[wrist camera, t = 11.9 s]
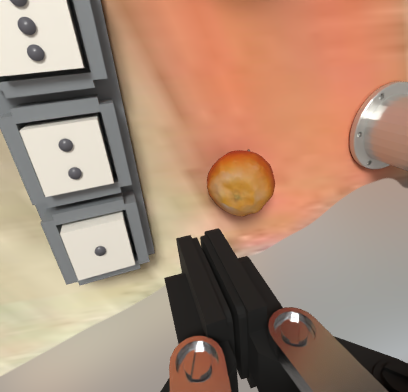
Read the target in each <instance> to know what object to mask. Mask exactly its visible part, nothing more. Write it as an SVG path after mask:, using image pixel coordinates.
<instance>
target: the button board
mask: <svg viewBox="0 0 408 392" xmlns="http://www.w3.org/2000/svg"><path fill="white" fill-rule="evenodd" d="M69 2H70V6H71V10H72V14H73V18H74V22H75V26H76V29H77V33H78V37H79V41H80V45H81V49H82V53H83V57H84V60H85V64H86V67H85V68H77V69H67V70H58V71H48V72H38V73H29V74H19V75H10V76H0V129H1V131H2V134H3V136H4V138H5V141H6V143H7V145H8V148H9V150H10V153H11V155H12V157H13V160H14V162H15V164H16V167H17V169H18V171H19V174H20V176H21V178H22V181H23V183H24V186H25V188H26V190H27V193H28V195H29V197H30V200H31V202H32V204H33V205H35V206H36V208H37V211H38V213H39V216H40V218H41V220H42V221H41V226H42V228H43V230H44V233H45V235H46V237H47V240H48V242H49V244H50V247H51V249H52V252H53V254H54V256H55V259H56V261H57V263H58V266H59V268H60V270H61V273H62V275H63V278H64V280H65V282H66V285H67V284H71V283H74V282H78V283H79V285H83V284H87V283H90V282H94V281H97V280H101V279H104V278H108V277H111V276H115V275H119V274H122V273H126V272H129V271H133V270H136V269H140V264H143V263H146V262H150V261H149V256H148V255H150V254H154V253H155V252H154V247H153V242H152V238H151V233H150V228H149V224H148V219H147V214H146V210H145V205H144V200H143V196H142V191H141V187H140V182H139V177H138V173H137V168H136V163H135V159H134V154H133V149H132V145H131V140H130V135H129V131H128V126H127V121H126V117H125V112H124V108H123V103H122V98H121V94H120V89H119V84H118V80H117V75H116V70H115V66H114V61H113V56H112V52H111V47H110V43H109V38H108V33H107V29H106V24H105V19H104V15H103V10H102V5H101V1H100V0H69ZM96 112H98V115H99V119H100V123H101V126H102V130H103V134H104V138H105V142H106V146H107V150H108V154H109V157H110V161H111V165H112V169H113V179H114V183H113V184H108V185H103V186H98V187H93V188H88V189H83V190H78V191H73V192H68V193H64V194H59V195H54V196H49V197H45V195H44V192H43V190H42V187H41V185H40V182H39V179H38V177H37V174H36V172H35V169H34V167H33V164H32V162H31V159H30V157H29V154H28V152H27V149H26V146H25V144H24V141H23V139H22V136H21V134H20V130H21V129H22V128H23V127H25V126H26V125H27V124H28V123H30V122H33V121H40V120H47V119H54V118H61V117H68V116H75V115H82V114H89V113H96ZM122 210H123V212H124V216H125V220H126V223H127V227H128V231H129V235H130V239H131V243H132V248H133V254H134V260H135V265H133V266H129V267H126V268H122V269H119V270H115V271H111V272H108V273H104V274H101V275H97V276H93V277H90V278H86V279H83V280H79V281H78V278H77V276H76V273H75V271H74V268H73V266H72V263H71V261H70V258H69V256H68V253H67V250H66V248H65V245H64V243H63V240H62V238H61V235H60V232H61V228H62V224H65V223H69V222H73V221H78V220H82V219H87V218H91V217H95V216H100V215H104V214H108V213H113V212H117V211H122Z"/></svg>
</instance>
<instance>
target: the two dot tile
mask: <svg viewBox="0 0 408 392" xmlns="http://www.w3.org/2000/svg"><path fill="white" fill-rule="evenodd" d="M20 134H21V136H22V139H23V141H24V144H25V146H26V149H27V152H28V154H29V157H30V159H31V162H32V164H33V167H34V169H35V172H36V174H37V177H38V179H39V182H40V185H41V187H42V190H43V192H44V195H45V197H49V196H54V195H59V194H64V193H68V192H73V191H78V190H83V189H88V188H93V187H98V186H103V185H108V184H113V183H114V179H113V169H112V165H111V161H110V157H109V154H108V150H107V146H106V142H105V138H104V134H103V130H102V126H101V123H100V119H99V115H98V112H96V113H89V114H82V115H75V116H68V117H61V118H54V119H47V120H40V121H33V122H30V123H28V124H27V125H26V126H25V127H23V128H22V129H21V130H20Z"/></svg>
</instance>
